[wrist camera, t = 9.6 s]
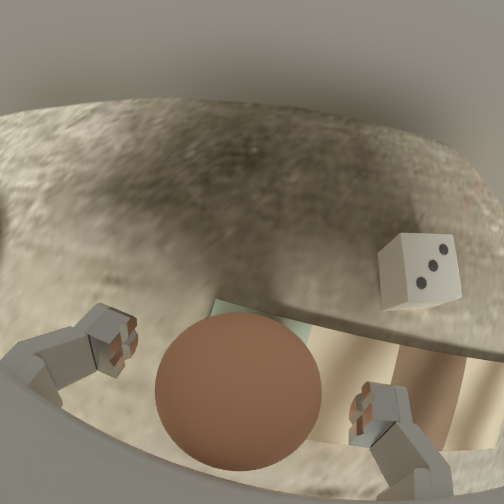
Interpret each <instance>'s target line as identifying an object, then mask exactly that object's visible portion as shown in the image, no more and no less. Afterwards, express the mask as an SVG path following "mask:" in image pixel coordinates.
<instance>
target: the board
mask: <svg viewBox="0 0 504 504" xmlns="http://www.w3.org/2000/svg"><path fill="white" fill-rule="evenodd" d="M232 312H243V313H252V314H257V315H261V316H264V317H267V318H270V319H273V320H275V321H277V322H279V323H281V324H282V325H284V326H285V327H287V328H288V329H290V330H291V331H292V332H294V333H295V334H296V335H297V336H298V337H299V338H300V339H301V340H302V341H303V342H304V344H305V345H306V346H307V348H308V349H309V351H310V352H311V353H312V355H313V357H314V359H315V361H316V364H317V367H318V370H319V373H320V378H321V383H322V401H321V408H320V412H319V416H318V418H317V421H316V423H315V426H314V427H313V429H312V431H311V433H310V434H309V436H308V437H307V438H306V439H307V440H313V441H319V442H325V443H332V444H339V445H346V446H350V445H348V440H349V429H350V428H351V426H352V423H351V422H350V420H349V410H350V406H351V403H352V401H353V399H354V398H355V396H356V395H358V394H360V393H362V390H361V387H362V386H363V385H364V383H365V382H367V381H370V382H376V383H382V384H389V385H395V386H402V387H406V389H407V392H408V397H409V403H410V409H411V415H412V421H413V424H417V425H418V427H419V428H420V429H421V430H422V432H423V433H424V434H425V435H426V437H427V438H428V439H429V440H430V442H431V443H432V444H433V445H434V447H435V448H436V449H437V451H460V450H477V449H489V448H495V445H496V442H497V439H498V436H499V432H500V429H501V426H502V422H503V418H504V363H502V362H495V361H488V360H482V359H475V358H469V357H463V356H457V355H452V354H446V353H440V352H435V351H430V350H424V349H419V348H414V347H409V346H404V345H399V344H394V343H390V342H385V341H380V340H375V339H371V338H366V337H362V336H357V335H353V334H349V333H344V332H340V331H336V330H332V329H327V328H323V327H319V326H315V325H311V324H307V323H303V322H299V321H295V320H291V319H288V318H284V317H280V316H276V315H272V314H269V313H265V312H261V311H258V310H254V309H250V308H247V307H243V306H240V305H236V304H233V303H229V302H226V301H222V300H219V299H215V302H214V305H213V309H212V312H211V315H210V317H211V316H214V315H218V314H223V313H232ZM354 447H357V446H354ZM364 448H365V447H364Z"/></svg>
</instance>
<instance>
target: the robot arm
mask: <svg viewBox="0 0 504 504" xmlns="http://www.w3.org/2000/svg"><path fill="white" fill-rule="evenodd" d="M136 326H137V319H136V318H135V317H134V316H132V315H129V314H127V313H124V312H122V311H120V310H117V309H115V308H113V307H110V306H108V305H105V304H103V303H101V302H100V303H97V304H96V305H95V306H94V307H93V308H92V309H91V310H90V311H89V312H88V313H87V314H86V315H85V316H84V317H83V318H82V319H81V320H80V321H79V322H78V323H77V324H76V325H75V326H74V327H71V326H69V327H66V328H63V329H60V330H56V331H53V332H50V333H47V334H43V335H40V336H37V337H33V338H30V339H27V340H24V341H20V342H18V343H17V344H16V345H15V346H14V347H13V348H12V349H11V350H10V351H9V352H8V353H7V354H6V355H5V356H4V357H3V358H2V359H1V360H0V504H504V486H503V487H499V488H495V489H490V490H485V491H480V492H475V493H469V494H463V495H456V496H454V495H453V485H452V477H451V470H450V466H449V464H448V463H447V462H446V461H445V459H444V458H443V457H442V456H441V454H440V453H439V452H438V451H437V449H436V448H435V447H434V445H433V444H432V443H431V442H430V440H429V439H428V438H427V437H426V435H425V434H424V433H423V432H422V430H421V429H420V428H419V427H418V425H417V424H413V421H412V415H411V409H410V403H409V397H408V392H407V389H406V387H402V386H395V385H389V384H382V383H376V382H370V381H367V382H365V383H364V385H363V386H362V387H361V390H362V393H360V394H358V395H356V396H355V398H354V399H353V401H352V403H351V406H350V410H349V420H350V422H351V423H352V426H351V428H350V429H349V440H348V445H350V446H357V447H365V448H370V451H371V453H372V455H373V457H374V459H375V460H376V462H377V464H378V466H379V468H380V470H381V472H382V474H383V476H384V477H385V479H386V481H387V483H388V485H389V488H388V489H386V490H385V491H383V492H382V493H380V494H379V495H378V496H377V501H367V500H346V499H333V498H322V497H313V496H306V495H298V494H292V493H286V492H280V491H274V490H269V489H264V488H259V487H255V486H250V485H246V484H242V483H238V482H234V481H230V480H226V479H223V478H219V477H216V476H212V475H209V474H206V473H202V472H199V471H196V470H193V469H190V468H187V467H184V466H181V465H179V464H176V463H173V462H170V461H168V460H165V459H163V458H160V457H157V456H155V455H153V454H150V453H148V452H145V451H143V450H141V449H138V448H136V447H134V446H132V445H129V444H127V443H125V442H123V441H121V440H119V439H117V438H115V437H112V436H110V435H108V434H106V433H104V432H103V431H101V430H99V429H97V428H95V427H93V426H91V425H89V424H87V423H86V422H84V421H82V420H80V419H79V418H77V417H75V416H73V415H72V414H70V413H68V412H67V411H65V410H63V409H62V408H61V406H62V405H63V402H62V399H61V397H60V395H59V393H58V390H60V389H62V388H64V387H66V386H68V385H70V384H72V383H74V382H76V381H78V380H80V379H82V378H84V377H86V376H88V375H90V374H92V373H94V372H96V371H97V370H98V371H100V372H102V373H105V374H107V375H109V376H111V377H114V378H117V377H118V376H119V374H120V373H121V371H122V370H123V368H124V367H125V362H124V360H127V359H129V358H131V357H132V355H133V354H134V352H135V350H136V347H137V344H138V334H137V332H136V331H135V327H136Z"/></svg>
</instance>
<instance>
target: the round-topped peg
mask: <svg viewBox="0 0 504 504" xmlns="http://www.w3.org/2000/svg"><path fill="white" fill-rule="evenodd" d="M155 400H156V406H157V411H158V414H159V417H160V420H161V422H162V424H163V426H164V428H165V430H166V431H167V433H168V434H169V436H170V437H171V439H172V440H173V441H174V442H175V443H176V444H177V445H178V447H180V448H181V449H182V450H183V451H184V452H185V453H187V454H188V455H189V456H191V457H192V458H194V459H196V460H198V461H199V462H201V463H203V464H206V465H209V466H211V467H214V468H218V469H223V470H229V471H250V470H256V469H260V468H264V467H268V466H270V465H272V464H275V463H277V462H279V461H281V460H282V459H284V458H286V457H287V456H289V455H290V454H291V453H293V452H294V451H295V450H296V449H297V448H298V447H299V446H300V445H301V444H302V443H303V442H304V441H305V440H306V438H307V437H308V436H309V434H310V433H311V431H312V429H313V427H314V426H315V423H316V421H317V418H318V416H319V412H320V408H321V401H322V383H321V378H320V373H319V370H318V367H317V364H316V361H315V359H314V357H313V355H312V353H311V352H310V351H309V349H308V348H307V346H306V345H305V344H304V342H303V341H302V340H301V339H300V338H299V337H298V336H297V335H296V334H295V333H294V332H292V331H291V330H290V329H288V328H287V327H285V326H284V325H282V324H281V323H279V322H277V321H275V320H273V319H270V318H267V317H264V316H261V315H257V314H252V313H243V312H232V313H223V314H218V315H214V316H211V317H208V318H205V319H203V320H201V321H199V322H197V323H195V324H193V325H192V326H190V327H189V328H187V329H186V330H185V331H184V332H182V333H181V334H180V335H179V336H178V337H177V338H176V339H175V340H174V341H173V342H172V344H171V345H170V346H169V348H168V349H167V350H166V352H165V354H164V356H163V358H162V360H161V362H160V365H159V368H158V371H157V376H156V382H155Z"/></svg>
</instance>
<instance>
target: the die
mask: <svg viewBox="0 0 504 504" xmlns="http://www.w3.org/2000/svg"><path fill="white" fill-rule="evenodd" d="M377 255H378V265H379V275H380V287H381V301H382V311H392V310H407V309H420V308H432V307H435V306H438V305H441V304H444V303H447V302H450V301H453V300H456V299H459V298H462V293H461V284H460V276H459V269H458V262H457V256H456V250H455V244H454V239H453V234H425V233H399V234H398V235H397V236H396V237H395V238H394V239H393V240H392V241H391V242H389V243H388V244H387V245H386V246H385V247H384V248H383V249H382V250H380V251H379V252H378V253H377Z"/></svg>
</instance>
